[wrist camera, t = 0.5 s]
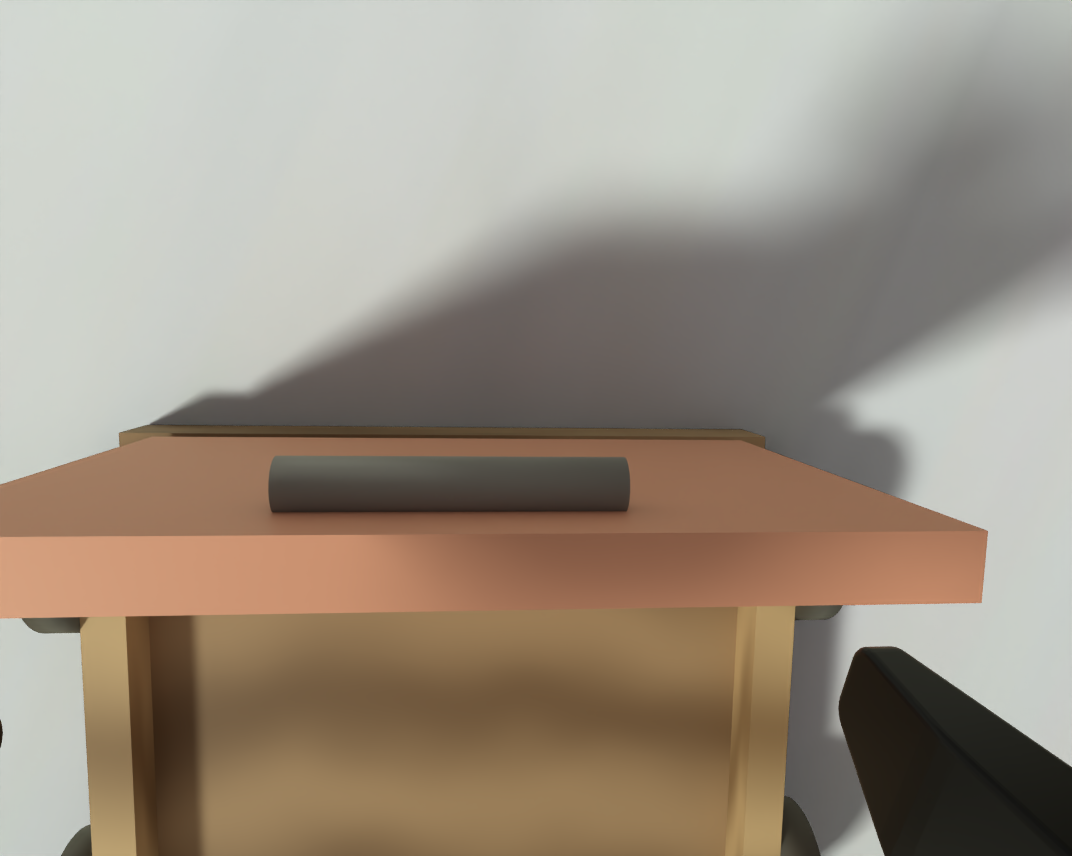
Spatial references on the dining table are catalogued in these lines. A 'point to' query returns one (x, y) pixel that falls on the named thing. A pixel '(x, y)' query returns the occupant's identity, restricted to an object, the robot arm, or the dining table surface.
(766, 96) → the dining table surface
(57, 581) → the panel
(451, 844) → the cart bed
